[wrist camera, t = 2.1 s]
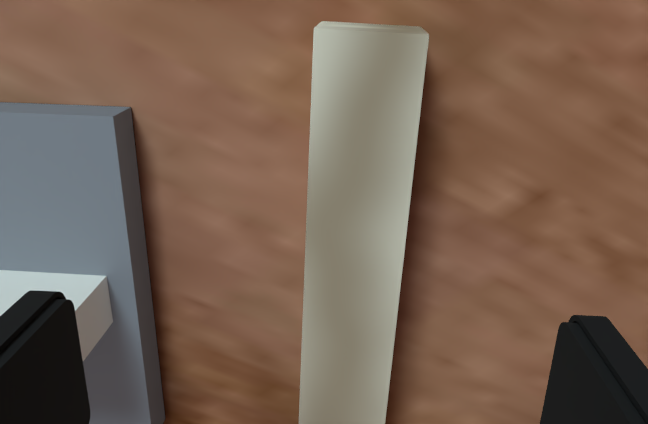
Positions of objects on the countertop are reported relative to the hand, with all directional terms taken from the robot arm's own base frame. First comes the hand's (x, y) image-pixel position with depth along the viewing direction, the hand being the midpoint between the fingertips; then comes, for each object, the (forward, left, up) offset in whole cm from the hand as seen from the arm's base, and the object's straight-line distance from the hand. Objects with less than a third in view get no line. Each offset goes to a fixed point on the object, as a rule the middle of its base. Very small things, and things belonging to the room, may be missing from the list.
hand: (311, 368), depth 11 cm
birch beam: (-1, +5, -11) cm, 12 cm away
